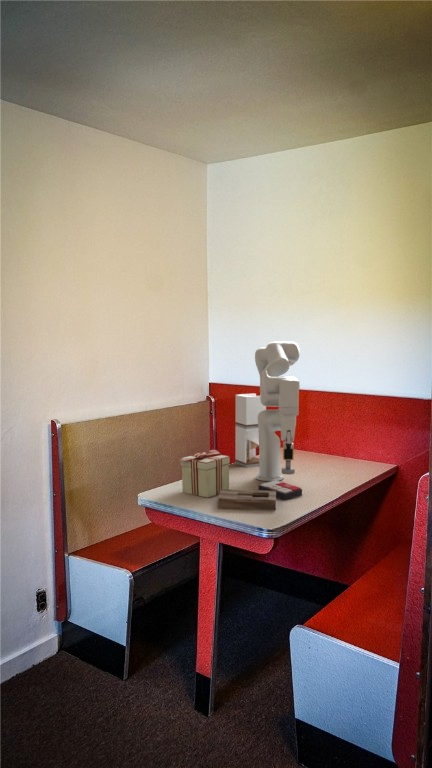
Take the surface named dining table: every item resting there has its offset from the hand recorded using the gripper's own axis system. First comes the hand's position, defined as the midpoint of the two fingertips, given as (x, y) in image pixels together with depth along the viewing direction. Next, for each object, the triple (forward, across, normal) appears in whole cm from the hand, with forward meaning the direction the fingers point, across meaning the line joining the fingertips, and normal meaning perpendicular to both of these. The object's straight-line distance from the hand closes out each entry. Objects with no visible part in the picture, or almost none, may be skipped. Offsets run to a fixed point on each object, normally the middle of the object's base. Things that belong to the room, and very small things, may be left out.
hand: (288, 457), depth 238 cm
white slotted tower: (+20, -70, -17) cm, 75 cm away
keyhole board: (+19, 0, -16) cm, 25 cm away
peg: (+6, 0, 0) cm, 6 cm away
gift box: (+19, -17, -35) cm, 44 cm away
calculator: (+20, -16, -3) cm, 26 cm away
